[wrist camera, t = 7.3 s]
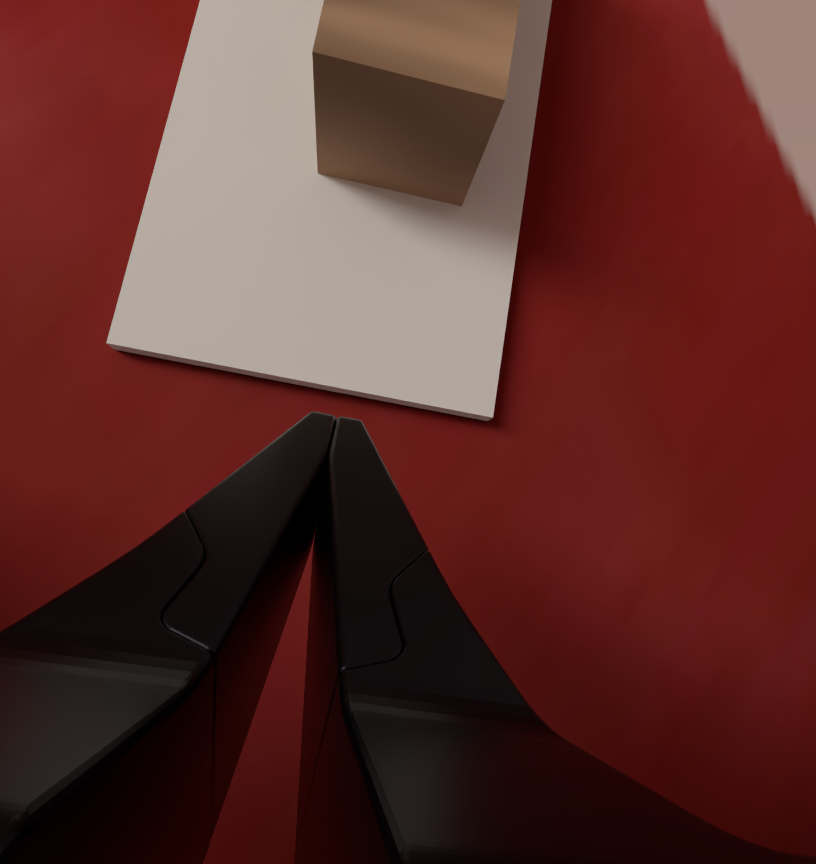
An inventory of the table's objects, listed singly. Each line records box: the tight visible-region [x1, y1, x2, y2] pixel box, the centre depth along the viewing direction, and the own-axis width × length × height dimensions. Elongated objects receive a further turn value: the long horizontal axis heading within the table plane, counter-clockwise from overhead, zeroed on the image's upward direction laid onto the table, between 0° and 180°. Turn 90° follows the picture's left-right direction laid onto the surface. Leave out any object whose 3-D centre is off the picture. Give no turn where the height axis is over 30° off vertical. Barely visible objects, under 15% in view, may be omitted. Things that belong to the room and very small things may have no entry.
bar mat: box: [107, 0, 552, 421], centre depth 18 cm, size 20×11×1 cm, turn 170°
